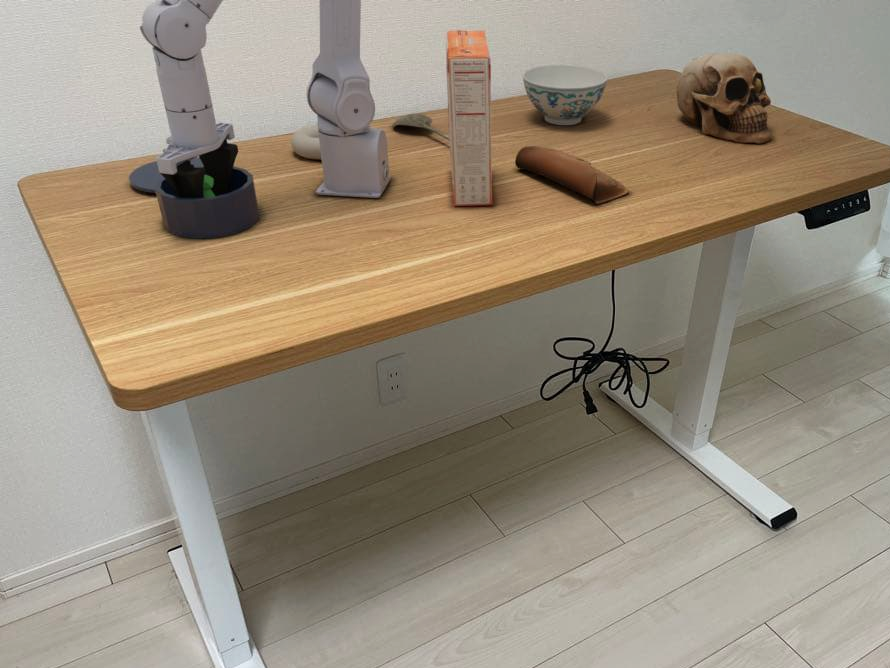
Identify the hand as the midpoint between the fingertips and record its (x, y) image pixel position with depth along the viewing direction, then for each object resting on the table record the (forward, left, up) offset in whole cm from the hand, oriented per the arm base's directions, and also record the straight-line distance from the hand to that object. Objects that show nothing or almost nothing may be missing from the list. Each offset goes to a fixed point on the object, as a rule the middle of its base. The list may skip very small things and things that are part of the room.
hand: (210, 206), depth 115 cm
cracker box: (-33, -16, -2) cm, 37 cm away
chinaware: (-45, -51, -2) cm, 68 cm away
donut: (-7, -28, -2) cm, 29 cm away
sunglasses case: (-48, -21, -2) cm, 53 cm away
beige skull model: (-74, -51, -2) cm, 90 cm away
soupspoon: (-24, -36, -2) cm, 44 cm away
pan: (0, 0, -2) cm, 2 cm away
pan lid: (+11, -13, -1) cm, 17 cm away
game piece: (0, 0, -2) cm, 2 cm away
